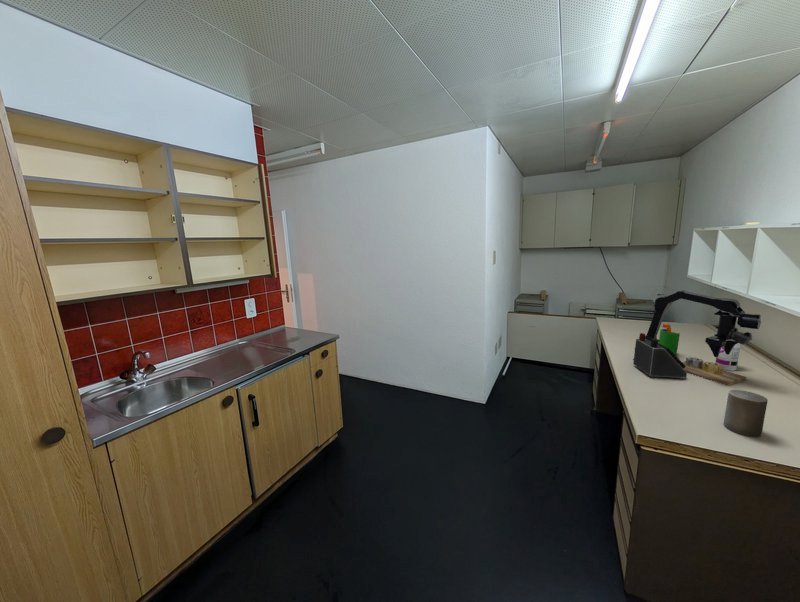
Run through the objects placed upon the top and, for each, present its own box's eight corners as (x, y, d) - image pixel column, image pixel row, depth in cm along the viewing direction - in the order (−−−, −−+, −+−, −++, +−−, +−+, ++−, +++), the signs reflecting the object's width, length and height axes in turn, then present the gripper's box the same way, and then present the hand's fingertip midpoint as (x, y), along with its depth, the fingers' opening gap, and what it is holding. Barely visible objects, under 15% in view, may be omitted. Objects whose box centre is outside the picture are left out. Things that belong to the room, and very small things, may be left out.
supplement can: (718, 369, 166) (722, 343, 163) (712, 364, 173) (716, 338, 170) (739, 372, 162) (744, 345, 159) (732, 366, 169) (736, 340, 166)
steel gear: (697, 369, 163) (698, 362, 163) (682, 365, 169) (683, 358, 169) (705, 367, 165) (706, 360, 165) (690, 363, 172) (691, 356, 171)
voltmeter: (686, 380, 155) (692, 342, 151) (649, 378, 158) (654, 341, 155) (666, 367, 170) (671, 333, 167) (632, 366, 174) (636, 332, 170)
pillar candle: (768, 439, 108) (776, 400, 106) (732, 434, 112) (739, 395, 109) (750, 424, 117) (757, 388, 115) (716, 420, 121) (722, 384, 118)
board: (727, 385, 148) (729, 373, 147) (669, 367, 170) (671, 357, 169) (746, 379, 153) (748, 368, 152) (688, 363, 176) (689, 353, 175)
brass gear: (717, 375, 156) (719, 367, 155) (700, 370, 162) (701, 363, 161) (722, 372, 159) (723, 364, 158) (705, 367, 165) (706, 360, 164)
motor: (681, 358, 182) (686, 326, 179) (666, 359, 183) (670, 326, 179) (667, 352, 192) (671, 321, 189) (652, 353, 192) (656, 322, 189)
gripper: (738, 331, 138) (732, 364, 141) (761, 326, 144) (755, 358, 147) (706, 325, 148) (702, 356, 151) (729, 321, 154) (724, 351, 157)
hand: (721, 355), depth 151 cm, fingers open, 9 cm apart
